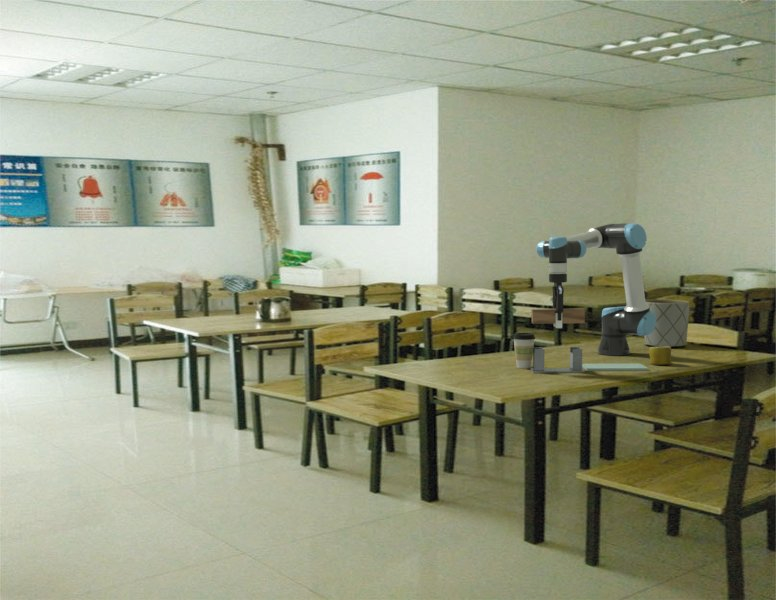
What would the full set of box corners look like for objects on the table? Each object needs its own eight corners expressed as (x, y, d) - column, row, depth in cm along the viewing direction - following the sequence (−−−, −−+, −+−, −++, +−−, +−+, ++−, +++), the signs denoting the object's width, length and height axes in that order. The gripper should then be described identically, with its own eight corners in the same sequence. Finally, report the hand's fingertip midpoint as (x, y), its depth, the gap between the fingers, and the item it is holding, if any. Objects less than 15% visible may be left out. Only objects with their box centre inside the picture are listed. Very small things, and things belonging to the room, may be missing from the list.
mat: (581, 365, 338) (581, 363, 338) (640, 365, 337) (640, 363, 337) (587, 370, 326) (587, 368, 326) (648, 370, 325) (648, 368, 325)
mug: (677, 362, 333) (669, 341, 335) (654, 369, 335) (646, 347, 337) (674, 363, 345) (667, 342, 346) (651, 369, 347) (644, 349, 349)
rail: (531, 322, 327) (531, 309, 326) (582, 322, 326) (582, 308, 325) (532, 323, 323) (532, 310, 322) (584, 323, 322) (584, 309, 321)
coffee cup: (523, 370, 330) (523, 336, 328) (508, 366, 338) (508, 333, 337) (539, 367, 335) (539, 334, 334) (524, 364, 343) (524, 332, 342)
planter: (665, 350, 380) (666, 304, 378) (633, 344, 401) (633, 300, 399) (698, 347, 390) (699, 301, 388) (665, 341, 410) (666, 298, 408)
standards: (530, 369, 330) (530, 347, 330) (581, 369, 329) (581, 346, 329) (532, 373, 322) (533, 349, 322) (584, 372, 321) (585, 349, 321)
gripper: (545, 272, 331) (545, 324, 333) (552, 274, 314) (552, 330, 316) (563, 271, 331) (563, 324, 333) (570, 274, 314) (570, 329, 316)
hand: (557, 327), depth 325 cm, fingers closed on rail, 4 cm apart
